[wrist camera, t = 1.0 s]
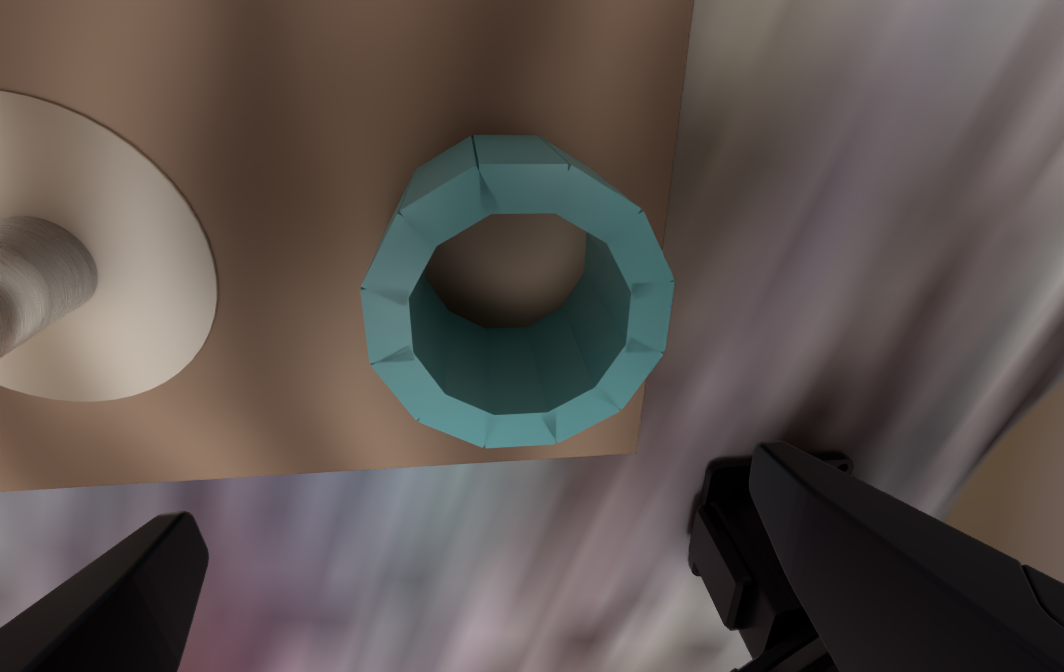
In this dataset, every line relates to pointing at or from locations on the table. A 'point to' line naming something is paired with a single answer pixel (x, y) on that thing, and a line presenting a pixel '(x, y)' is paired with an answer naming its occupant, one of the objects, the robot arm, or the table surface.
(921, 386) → the table surface
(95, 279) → the steel pin
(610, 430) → the base board
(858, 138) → the table surface
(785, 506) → the robot arm
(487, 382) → the collar
